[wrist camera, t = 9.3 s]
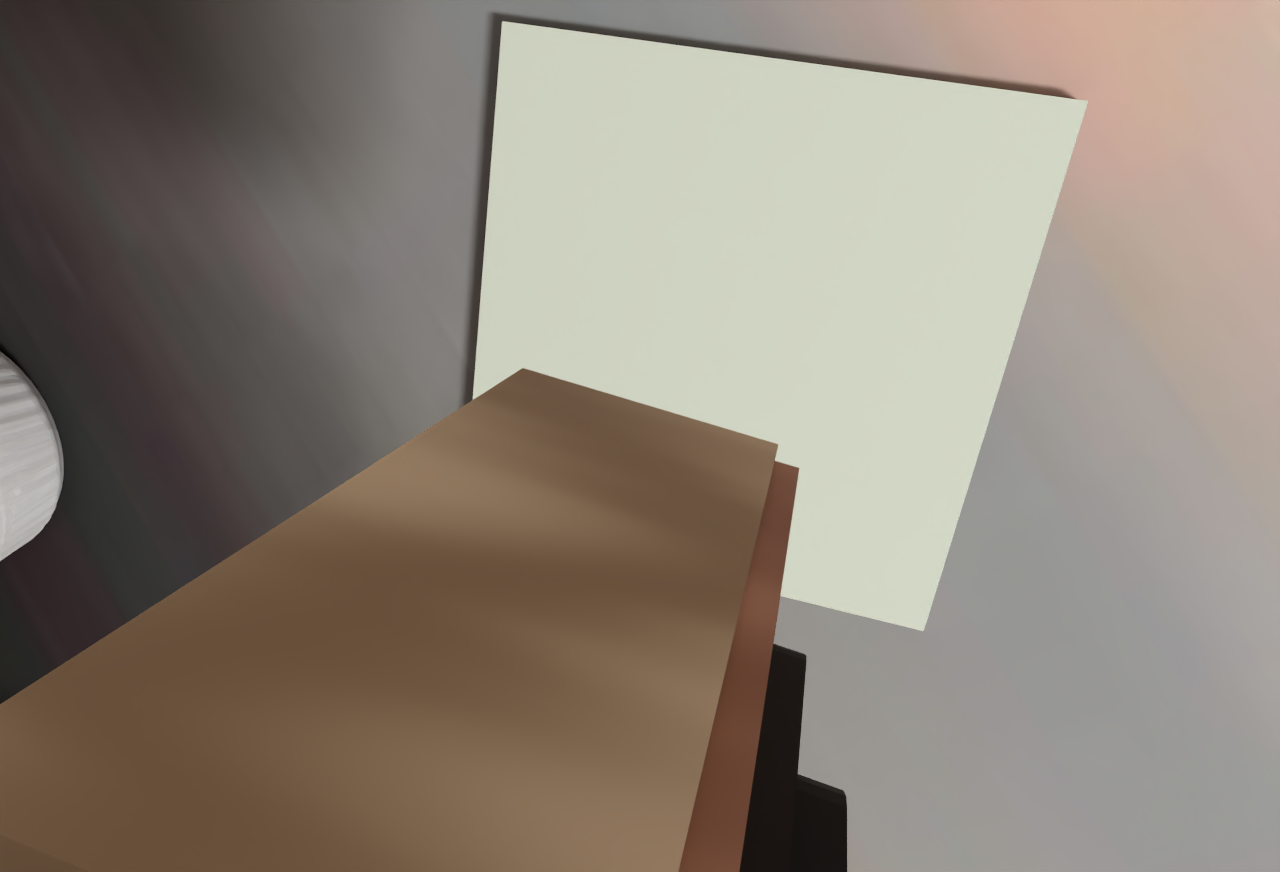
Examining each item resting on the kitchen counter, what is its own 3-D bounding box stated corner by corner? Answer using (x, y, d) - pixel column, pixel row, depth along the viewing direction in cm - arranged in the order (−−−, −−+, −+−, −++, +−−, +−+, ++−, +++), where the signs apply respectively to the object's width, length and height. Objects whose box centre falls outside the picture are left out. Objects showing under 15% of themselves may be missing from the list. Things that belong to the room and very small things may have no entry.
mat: (470, 510, 30) (463, 517, 29) (509, 24, 24) (502, 21, 24) (921, 621, 27) (923, 631, 27) (1081, 102, 22) (1088, 100, 21)
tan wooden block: (804, 452, 9) (708, 1135, 3) (659, 894, 12) (433, 1795, 5) (522, 367, 10) (-121, 783, 3) (440, 810, 12) (-13, 1540, 6)
